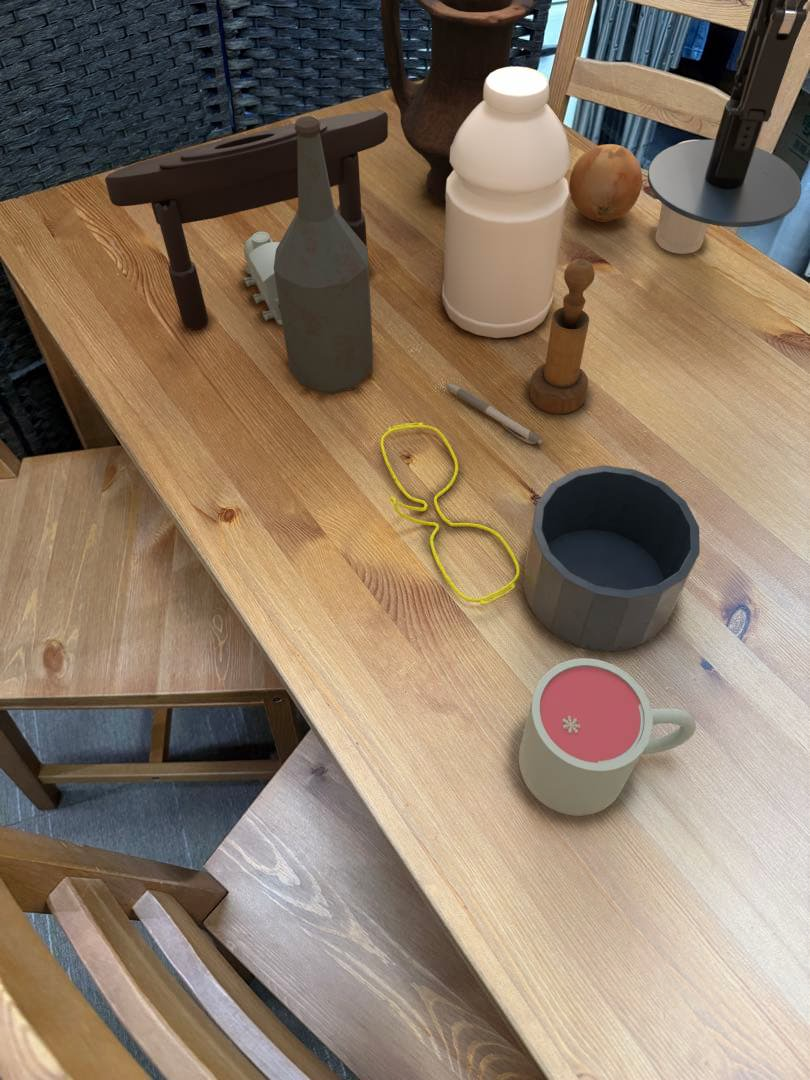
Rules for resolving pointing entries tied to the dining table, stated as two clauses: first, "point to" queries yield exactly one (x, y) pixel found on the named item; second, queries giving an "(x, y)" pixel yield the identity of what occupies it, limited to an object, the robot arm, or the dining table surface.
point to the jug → (448, 72)
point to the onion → (605, 182)
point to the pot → (608, 557)
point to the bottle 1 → (323, 281)
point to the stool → (243, 194)
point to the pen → (495, 415)
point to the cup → (679, 231)
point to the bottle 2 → (505, 207)
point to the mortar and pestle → (565, 348)
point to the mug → (590, 735)
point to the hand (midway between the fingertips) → (729, 163)
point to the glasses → (481, 600)
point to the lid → (723, 182)
